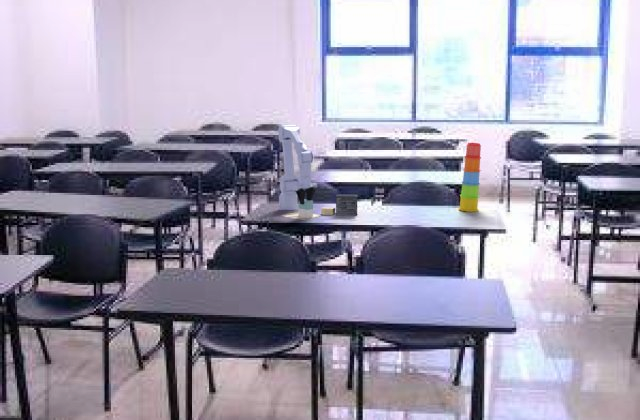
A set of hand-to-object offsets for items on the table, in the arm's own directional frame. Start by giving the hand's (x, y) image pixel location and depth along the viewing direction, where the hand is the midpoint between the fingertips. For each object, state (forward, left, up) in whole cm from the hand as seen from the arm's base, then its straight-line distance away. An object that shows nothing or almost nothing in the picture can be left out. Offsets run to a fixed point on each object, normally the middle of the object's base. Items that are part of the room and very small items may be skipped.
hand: (305, 203), depth 358 cm
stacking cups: (+48, +71, -8) cm, 86 cm away
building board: (-3, 0, -7) cm, 8 cm away
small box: (+11, +18, -8) cm, 22 cm away
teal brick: (0, 0, -2) cm, 3 cm away
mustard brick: (+4, +12, -8) cm, 15 cm away
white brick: (0, 0, -6) cm, 6 cm away
